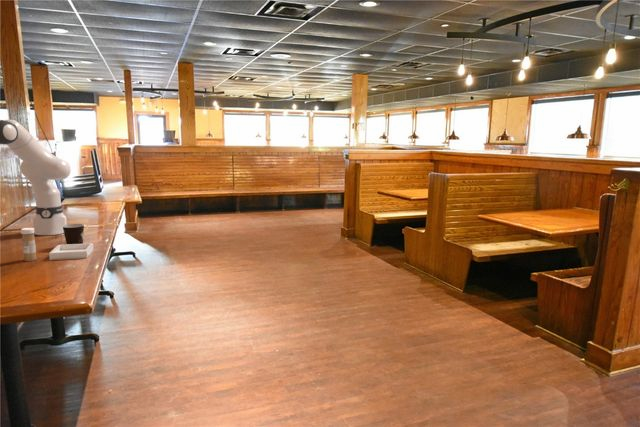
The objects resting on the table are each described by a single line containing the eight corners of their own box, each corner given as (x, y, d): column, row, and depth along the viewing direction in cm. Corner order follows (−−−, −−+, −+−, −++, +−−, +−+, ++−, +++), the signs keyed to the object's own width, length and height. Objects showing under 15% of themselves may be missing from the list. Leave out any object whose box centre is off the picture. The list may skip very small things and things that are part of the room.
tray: (58, 251, 192) (58, 244, 192) (93, 249, 197) (93, 243, 196) (49, 260, 179) (49, 253, 179) (87, 258, 183) (86, 251, 183)
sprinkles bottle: (21, 260, 178) (18, 228, 175) (32, 257, 182) (29, 226, 179) (28, 262, 176) (25, 230, 173) (39, 259, 180) (36, 228, 178)
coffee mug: (76, 249, 196) (74, 228, 194) (59, 248, 198) (58, 226, 196) (94, 243, 207) (92, 223, 205) (78, 242, 209) (77, 221, 207)
